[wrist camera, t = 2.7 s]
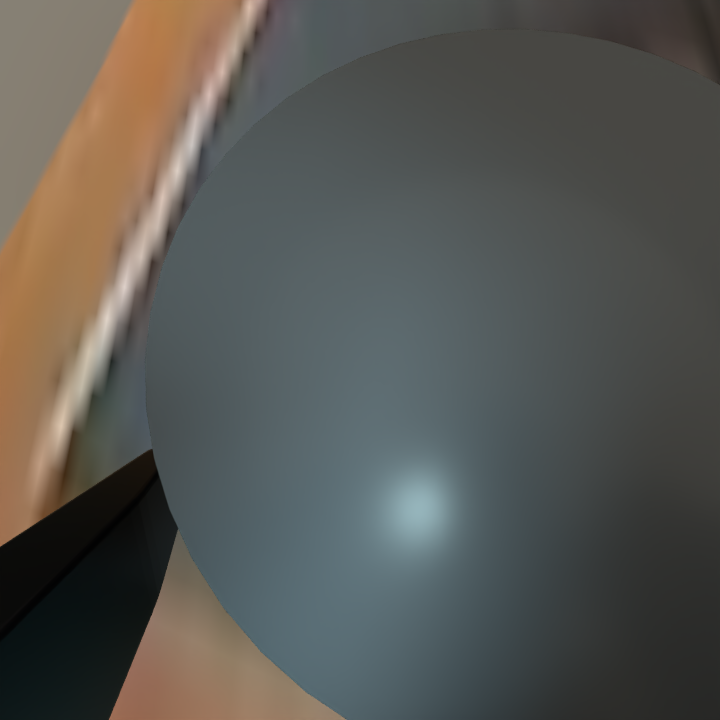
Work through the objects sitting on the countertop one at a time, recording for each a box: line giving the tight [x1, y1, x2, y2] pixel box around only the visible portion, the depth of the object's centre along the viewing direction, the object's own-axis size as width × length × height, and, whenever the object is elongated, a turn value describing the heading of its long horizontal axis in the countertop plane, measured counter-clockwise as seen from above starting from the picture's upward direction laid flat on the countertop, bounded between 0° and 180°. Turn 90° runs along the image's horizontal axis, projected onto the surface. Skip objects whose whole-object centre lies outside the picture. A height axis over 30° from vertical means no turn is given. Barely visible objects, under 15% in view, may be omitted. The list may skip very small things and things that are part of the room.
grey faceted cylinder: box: [145, 29, 720, 720], centre depth 12 cm, size 7×7×12 cm
